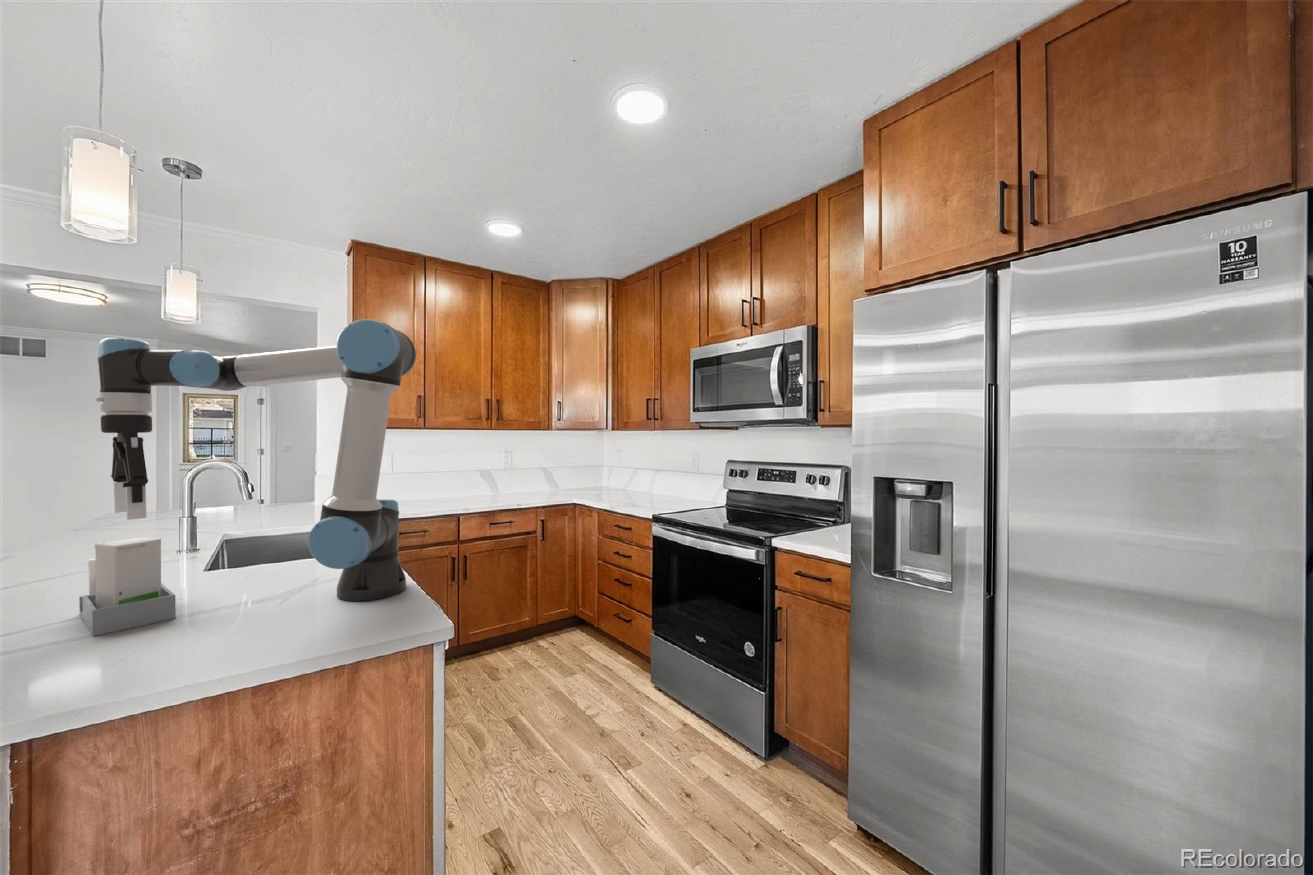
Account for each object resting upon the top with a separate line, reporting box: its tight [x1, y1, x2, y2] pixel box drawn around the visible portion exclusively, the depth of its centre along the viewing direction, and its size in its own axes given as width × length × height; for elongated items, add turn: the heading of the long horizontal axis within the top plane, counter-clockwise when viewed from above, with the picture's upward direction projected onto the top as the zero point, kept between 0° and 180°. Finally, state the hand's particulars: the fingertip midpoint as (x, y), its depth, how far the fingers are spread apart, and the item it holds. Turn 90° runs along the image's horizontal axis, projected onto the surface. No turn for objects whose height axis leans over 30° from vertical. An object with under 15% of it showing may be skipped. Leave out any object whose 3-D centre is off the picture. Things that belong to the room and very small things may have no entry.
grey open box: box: [78, 558, 176, 637], centre depth 111 cm, size 18×12×12 cm, turn 53°
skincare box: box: [94, 536, 162, 609], centre depth 110 cm, size 8×7×16 cm
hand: (130, 515), depth 109 cm, fingers open, 13 cm apart
